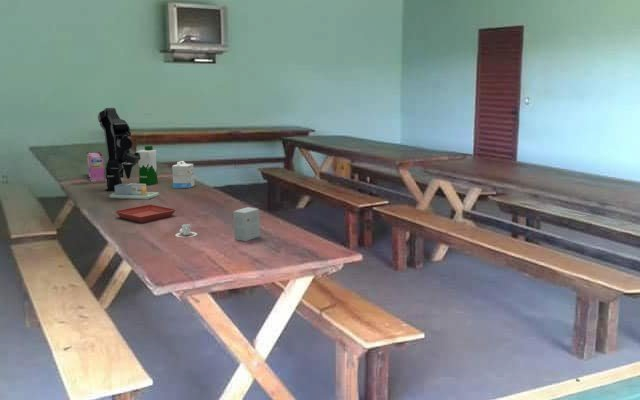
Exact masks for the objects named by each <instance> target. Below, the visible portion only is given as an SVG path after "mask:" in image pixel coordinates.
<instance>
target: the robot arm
mask: <svg viewBox="0 0 640 400" xmlns="http://www.w3.org/2000/svg"><path fill="white" fill-rule="evenodd" d="M97 121H98V123H99V126H100V127H101V128H102V130H103V131H104V139H105V145H106V146H105V147H106V155H107V156H106V157H107V160H106V162H105V163H104V178H105V180H106V187H107V188H106V189H105V191H114V192H115V186H116V185H119V184H123V181H122V178H124V173H125V177H126V179H127V180H129V179H130V178H131V174H132V170H133V168H134V166H136V165H137V164H139V163H138V162H139V160H140V159H141V158H140V153H138V152H137V153H136V152H134V153H131V150H130V149H131V148H132V147H133V142H132V140H131V139H130V138H129V137H131V135H132V131H131V129H130V126H129V123H127V121H126V120H125V119H121V118H120V115H119V114H118V112H117V109H116V108H115V107H106V108H104V109H103V110H101V111H100V112H99V113H98V115H97Z"/></svg>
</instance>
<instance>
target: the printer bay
mask: <svg viewBox="0 0 640 400" xmlns="http://www.w3.org/2000/svg"><path fill="white" fill-rule="evenodd" d="M129 184H131V190H132V191H133V192H138V191H141V187H143V186H146V187H147V185H146V184H139V183H129Z"/></svg>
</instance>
